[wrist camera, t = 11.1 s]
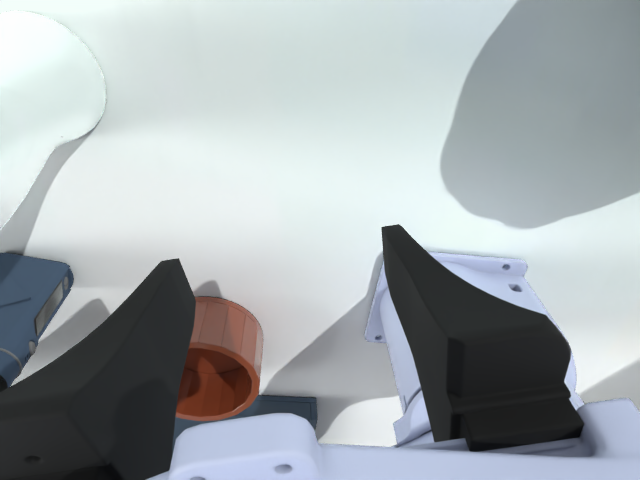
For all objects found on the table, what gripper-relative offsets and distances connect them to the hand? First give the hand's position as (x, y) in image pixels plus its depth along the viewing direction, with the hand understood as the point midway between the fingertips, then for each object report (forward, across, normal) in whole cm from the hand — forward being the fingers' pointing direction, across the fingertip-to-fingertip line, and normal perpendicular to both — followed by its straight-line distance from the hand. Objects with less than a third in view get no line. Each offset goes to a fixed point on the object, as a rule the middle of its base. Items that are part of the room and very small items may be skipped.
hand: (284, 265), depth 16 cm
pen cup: (+10, +8, +13) cm, 19 cm away
